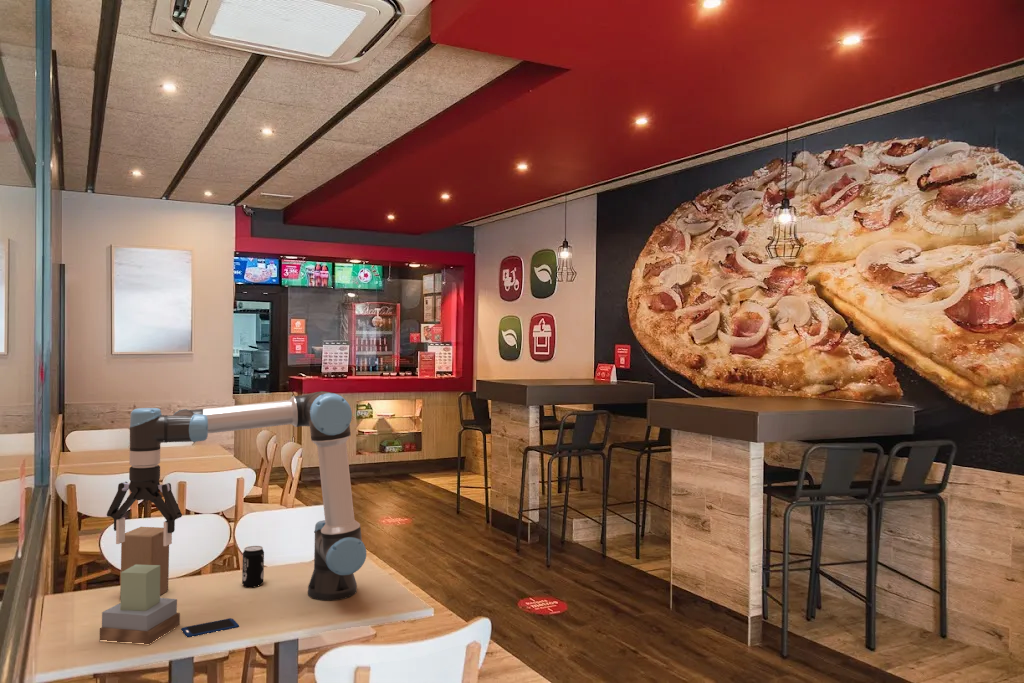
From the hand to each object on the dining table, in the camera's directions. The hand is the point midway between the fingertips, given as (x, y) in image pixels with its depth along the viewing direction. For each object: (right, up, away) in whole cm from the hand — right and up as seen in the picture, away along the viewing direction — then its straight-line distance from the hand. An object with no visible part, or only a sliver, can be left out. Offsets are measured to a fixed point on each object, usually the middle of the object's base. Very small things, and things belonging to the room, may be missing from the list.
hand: (143, 543), depth 202 cm
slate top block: (-1, -21, 0) cm, 21 cm away
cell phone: (+16, -25, +4) cm, 30 cm away
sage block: (-1, -17, 0) cm, 17 cm away
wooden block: (-14, -24, +30) cm, 41 cm away
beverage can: (+15, -25, +41) cm, 50 cm away
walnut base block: (-1, -25, 0) cm, 25 cm away
